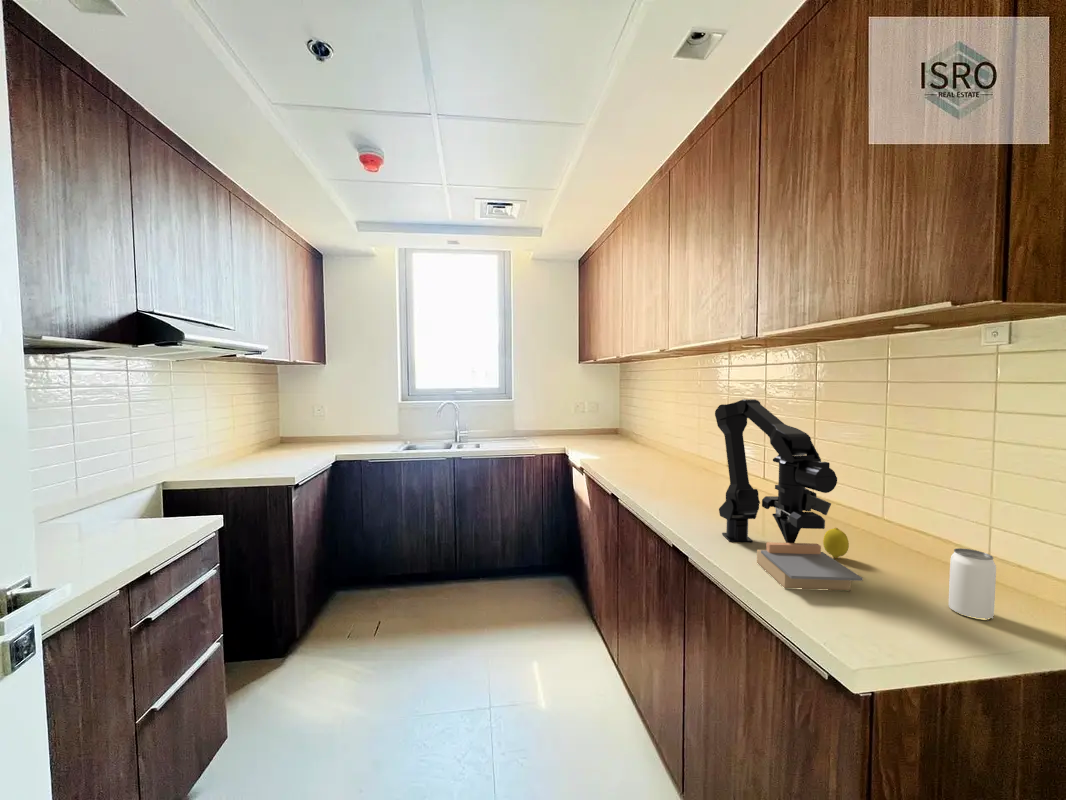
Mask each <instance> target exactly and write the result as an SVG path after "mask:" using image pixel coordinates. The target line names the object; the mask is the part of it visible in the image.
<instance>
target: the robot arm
mask: <svg viewBox="0 0 1066 800" xmlns="http://www.w3.org/2000/svg"><path fill="white" fill-rule="evenodd" d="M714 416H715V419H716V420H715V421H716V424H717V427H718V428H719V430H720V431H721V433H723V435H724V442H725V451H726V452H725V453H726V459H727V467H728V468H727V469H728V474H729V482H730V483H729V486H728V488H727V490H726V492H725V501H723V503H722V505H720V507H719V508H718V512H719V516H720V517H721V518H723V519H725V520H726V529H725V530H726V531H725V532H722V533H721V535H722V536H723V537H725V539H726V540H727V541H728V542H731V543H732V542H733V543H735V542H737V543H753V542H754V541H753V539H752V538H750V537H749V520H756V518H757V515H758V513H759V510H760V504H761V507H762V508H764V509H765V510H769V509H770V508H771V507H772V508H774V509H775V513H772V514H771V515H772V517H773V518H774V520H775V522H776V524H777V526H778V528H779V530H780V534H781V535H782V536H783V538H784V541H785V543H796V540H797V538H798V535H799V533H800V531H801V529H806V530H807V529H809V530H810V529H811V530H813V529H814V530H817V529H818V530H824V529H826V519H825V518H823V517H822V516H821V515H820V514H818V513H821V514H822V515H823V516H828V513H829V510H830V509H831V505H832V503H831V502H829V501H826V500H824V499H821V498H820V497H817V493H816V492H820V493H823V494H828V493H831V492H832V491H833V490H835V488H836V485H838V477H837V474H836V472H835V471H834V470H833V469H832V468H831V466H830V462H828V461H822V459H821V457H820V454H819V453H818V451H817V449H816V448H815V445H814V444H813V441H812V438H811V436H810V435H809V434H808V433H807V432H805V431H802V430H801V429H799V428H797V427H793V426H791V425H788V424H786V423H784V422H783V421H782V420H781V419H779V418H778V417H777V416H776V415H774V414H773V413H772V412H771V411H769V410H768V409H767V408H766V407H765V406H763V405H762V404H761V402H760V401H759V400H758V399H754V398H750V399H749V398H748V399H745V398H744V399H741V400H739V401H735V402H732V403H727V404H726V403H725V404H722V403H721V404H720V405H718V406H717V408H716V409H715V411H714ZM748 419H749V420H750V421H751V422H752V423H753V424H754V425H755V426H757V427H758V428H759V429H760V430H761V431H762V432H764V434H765V435H767V436H768V438H769V443H770V445H771V447H772V448H773V449H774V451H775V452H776V453H777V456H775V457H774V458H773V459H772V461H773V463H778V484H775V485H774V490H777V493H778V494H777V495H776V496H771V495H770V496H769V495H768V496H767V495H766V496H764V497H763V498H762V499H761V502H760V498H759V490H758V488H753V486H752V485H751V484H750V482H749V481H750V479H749V472H748V464H747V457H746V456H747V455H746V450H745V441H744V432H745V430H746V427H747V425H748ZM812 490H813V491H812ZM814 491H816V492H814ZM812 510H813V511H812ZM814 511H816V512H818V513H815V512H814Z"/></svg>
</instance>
